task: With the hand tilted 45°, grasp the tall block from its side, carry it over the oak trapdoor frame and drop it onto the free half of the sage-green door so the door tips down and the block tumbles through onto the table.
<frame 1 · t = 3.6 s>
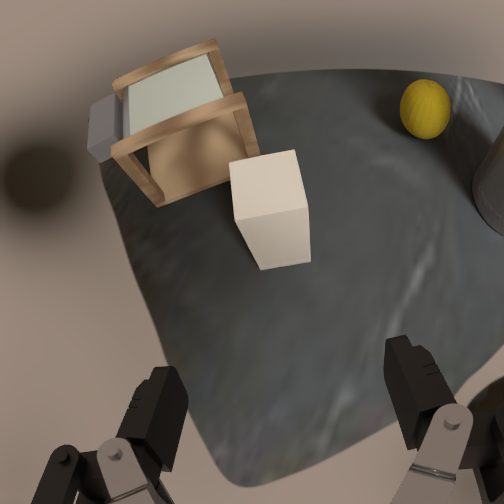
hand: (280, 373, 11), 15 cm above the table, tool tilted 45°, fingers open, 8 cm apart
lemon: (417, 135, 31), on the table
block: (281, 242, 29), on the table
frame: (198, 147, 35), on the table
door: (152, 104, 28), point 8 cm above the table, hinge at 0.0°
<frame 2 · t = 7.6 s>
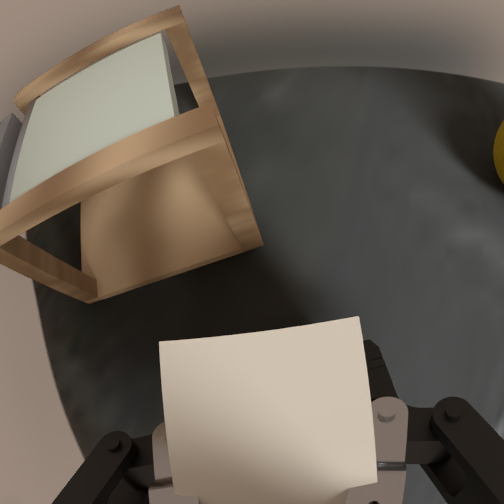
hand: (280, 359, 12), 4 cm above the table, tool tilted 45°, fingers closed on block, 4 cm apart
block: (292, 397, 15), on the table, touching gripper
frame: (154, 197, 21), on the table
door: (56, 132, 13), point 9 cm above the table, hinge at 0.0°
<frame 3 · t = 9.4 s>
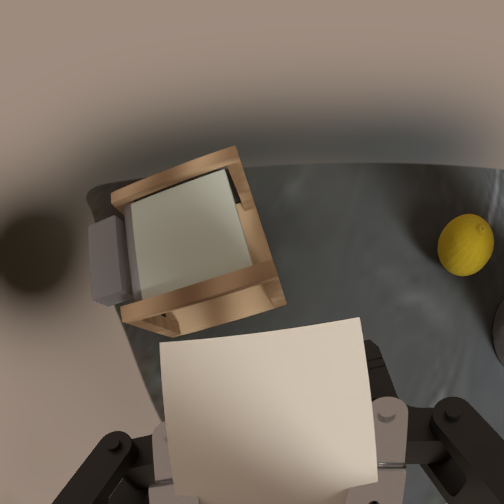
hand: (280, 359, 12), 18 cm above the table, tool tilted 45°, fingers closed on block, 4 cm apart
lemon: (449, 260, 29), on the table
block: (292, 398, 15), point 14 cm above the table, touching gripper
frame: (213, 267, 33), on the table
door: (161, 242, 26), point 8 cm above the table, hinge at 0.0°
when the fingers open (16 cm above the table, at t = 11.5 s): block drops 4 cm, resting on door.
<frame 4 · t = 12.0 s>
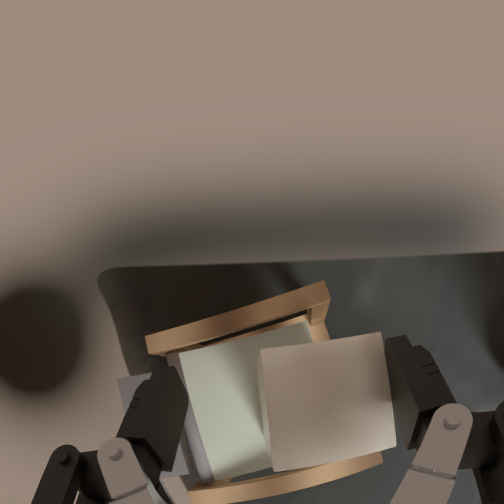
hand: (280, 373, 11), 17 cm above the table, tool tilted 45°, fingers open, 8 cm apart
block: (294, 399, 19), point 7 cm above the table, tilted 11°, touching door
frame: (274, 394, 26), on the table
door: (229, 410, 19), point 8 cm above the table, hinge at -14.6°, touching block
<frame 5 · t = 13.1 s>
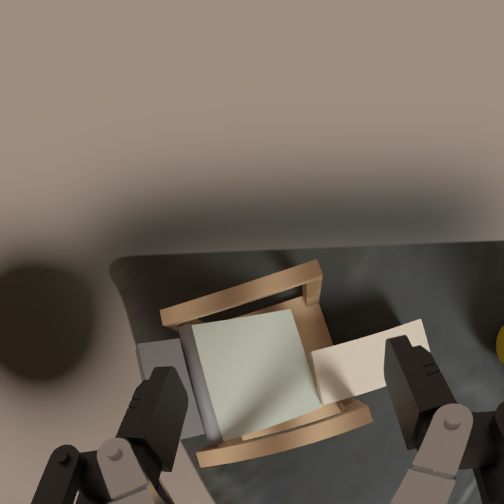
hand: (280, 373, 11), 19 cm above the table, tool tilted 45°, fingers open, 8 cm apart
lemon: (501, 346, 25), on the table
block: (314, 378, 26), point 3 cm above the table, tilted 95°, touching door, frame
frame: (274, 369, 29), on the table
door: (232, 378, 23), point 7 cm above the table, hinge at -34.1°, touching block
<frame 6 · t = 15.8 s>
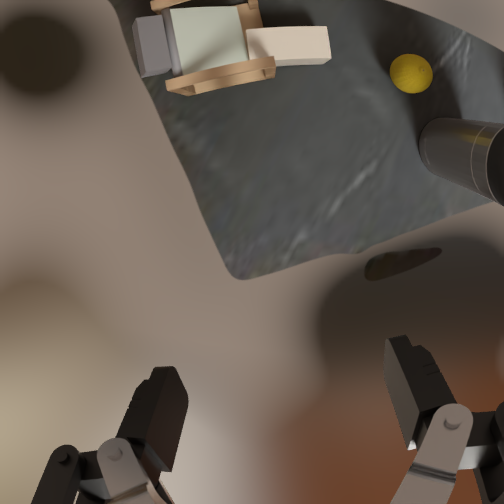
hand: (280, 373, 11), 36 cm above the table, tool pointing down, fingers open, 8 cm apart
lemon: (399, 76, 37), on the table
block: (247, 49, 35), point 3 cm above the table, tilted 95°, touching door, frame
frame: (222, 47, 37), on the table
door: (192, 39, 31), point 7 cm above the table, hinge at -34.1°, touching block
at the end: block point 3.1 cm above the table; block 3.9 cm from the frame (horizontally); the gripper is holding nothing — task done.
